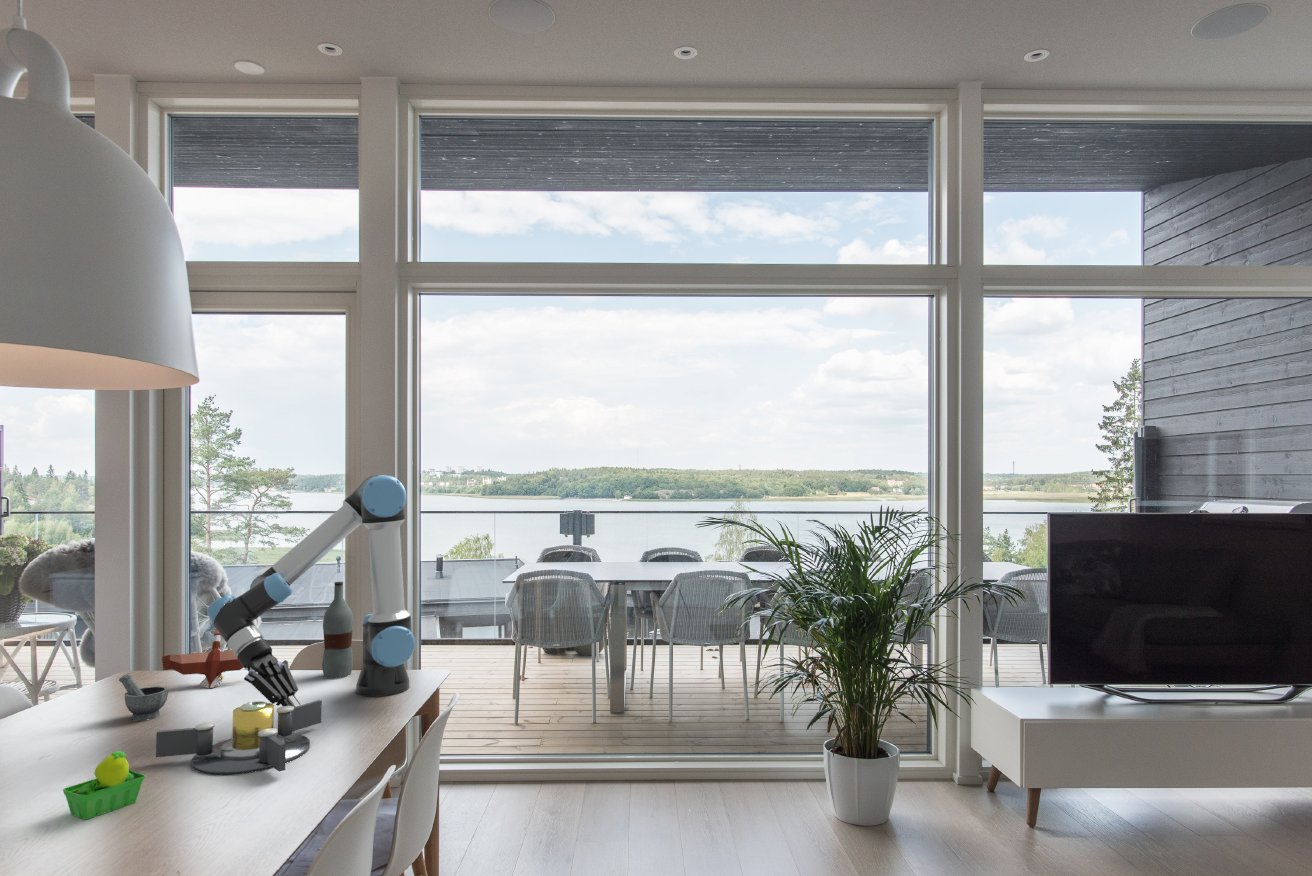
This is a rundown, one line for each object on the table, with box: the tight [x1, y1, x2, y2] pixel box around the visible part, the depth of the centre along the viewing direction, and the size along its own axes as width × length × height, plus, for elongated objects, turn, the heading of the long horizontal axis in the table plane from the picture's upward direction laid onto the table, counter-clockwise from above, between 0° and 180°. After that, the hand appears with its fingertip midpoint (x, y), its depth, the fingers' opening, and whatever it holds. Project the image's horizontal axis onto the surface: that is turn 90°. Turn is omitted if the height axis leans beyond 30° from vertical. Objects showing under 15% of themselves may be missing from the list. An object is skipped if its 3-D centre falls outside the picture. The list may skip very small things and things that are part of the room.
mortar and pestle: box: [118, 673, 169, 722], centre depth 201 cm, size 11×9×12 cm
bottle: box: [321, 581, 354, 679], centre depth 244 cm, size 9×9×30 cm
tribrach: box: [191, 700, 311, 776], centre depth 174 cm, size 24×24×12 cm
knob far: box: [155, 721, 216, 758], centre depth 170 cm, size 12×4×6 cm, turn 105°
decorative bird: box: [161, 628, 245, 690], centre depth 235 cm, size 28×18×15 cm, turn 110°
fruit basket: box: [62, 750, 146, 820], centre depth 145 cm, size 11×9×11 cm
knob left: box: [258, 728, 286, 772], centre depth 164 cm, size 12×4×6 cm, turn 45°
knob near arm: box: [276, 699, 323, 736], centre depth 187 cm, size 12×4×6 cm, turn 150°
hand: (301, 719), depth 189 cm, fingers closed
